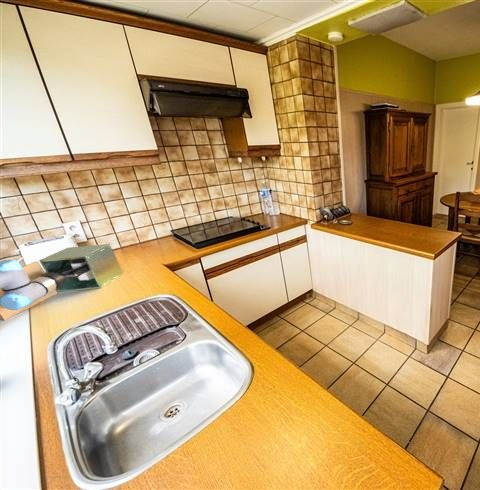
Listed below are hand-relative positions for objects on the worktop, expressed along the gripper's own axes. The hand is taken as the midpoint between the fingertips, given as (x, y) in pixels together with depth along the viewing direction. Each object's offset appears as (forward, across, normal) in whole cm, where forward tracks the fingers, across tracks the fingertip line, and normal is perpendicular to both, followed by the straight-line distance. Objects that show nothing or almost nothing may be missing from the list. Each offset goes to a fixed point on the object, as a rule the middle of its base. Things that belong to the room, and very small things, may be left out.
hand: (90, 260), depth 139 cm
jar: (-5, +1, -7) cm, 9 cm away
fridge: (-5, 0, -11) cm, 12 cm away
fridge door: (-22, -14, -11) cm, 29 cm away
